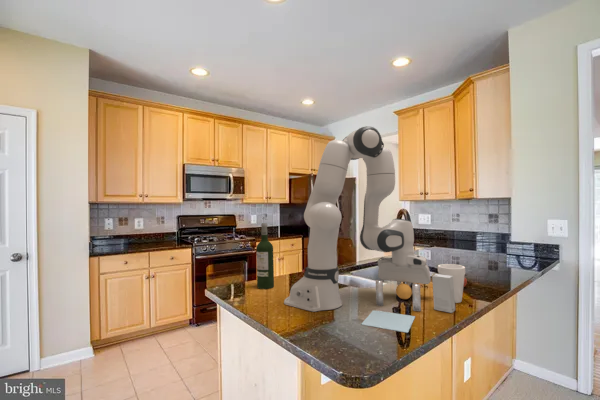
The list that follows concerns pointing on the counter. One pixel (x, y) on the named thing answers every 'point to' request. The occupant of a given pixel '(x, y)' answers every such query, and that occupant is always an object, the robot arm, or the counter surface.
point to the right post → (416, 297)
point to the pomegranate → (465, 281)
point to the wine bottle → (265, 261)
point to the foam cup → (454, 278)
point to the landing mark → (389, 321)
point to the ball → (404, 291)
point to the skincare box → (443, 293)
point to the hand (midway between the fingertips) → (404, 292)
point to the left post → (379, 292)
